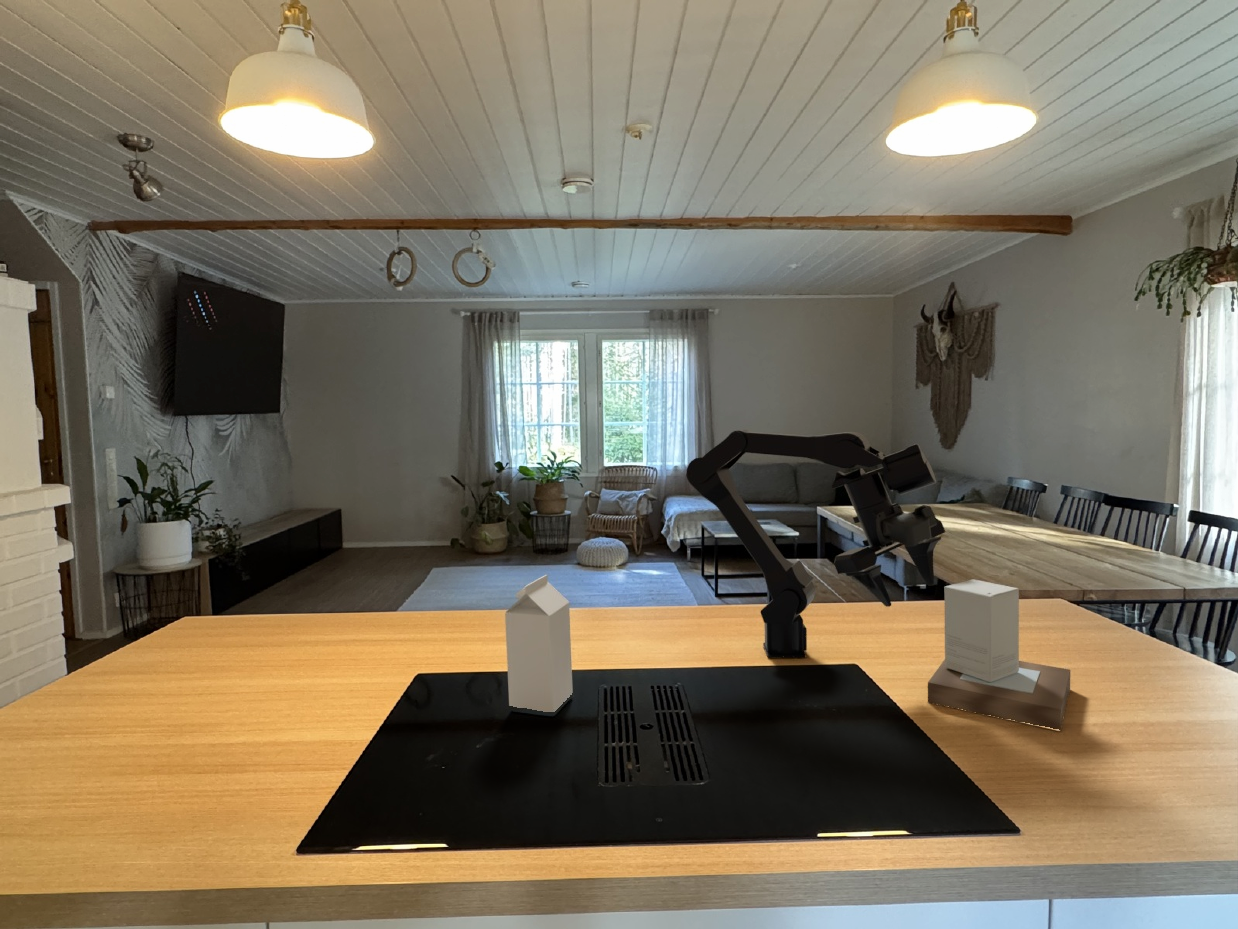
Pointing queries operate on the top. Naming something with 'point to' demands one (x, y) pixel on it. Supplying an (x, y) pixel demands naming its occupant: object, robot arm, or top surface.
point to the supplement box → (982, 629)
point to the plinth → (1006, 693)
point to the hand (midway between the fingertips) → (910, 595)
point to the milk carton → (539, 648)
